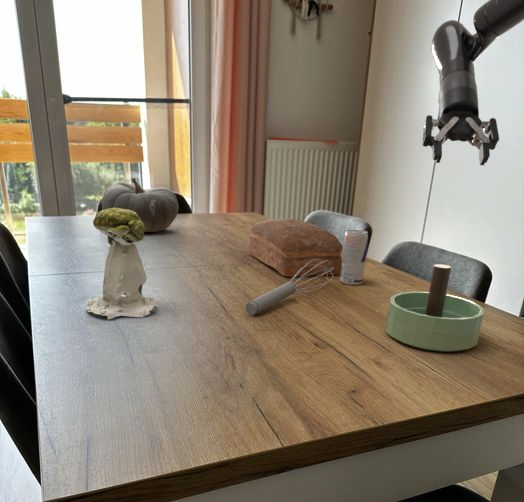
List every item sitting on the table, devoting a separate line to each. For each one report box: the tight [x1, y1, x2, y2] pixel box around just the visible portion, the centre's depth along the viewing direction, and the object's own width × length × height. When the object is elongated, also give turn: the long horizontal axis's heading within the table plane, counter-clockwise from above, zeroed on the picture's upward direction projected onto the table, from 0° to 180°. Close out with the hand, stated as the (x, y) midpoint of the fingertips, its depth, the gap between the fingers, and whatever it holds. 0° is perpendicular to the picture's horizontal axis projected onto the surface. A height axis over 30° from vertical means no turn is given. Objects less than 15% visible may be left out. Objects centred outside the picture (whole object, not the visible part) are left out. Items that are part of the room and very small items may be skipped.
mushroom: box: [85, 208, 158, 320], centre depth 93 cm, size 12×13×18 cm
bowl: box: [385, 291, 486, 353], centre depth 89 cm, size 15×15×6 cm
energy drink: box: [339, 229, 369, 286], centre depth 120 cm, size 5×5×12 cm
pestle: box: [424, 263, 452, 317], centre depth 88 cm, size 4×4×12 cm
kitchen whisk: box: [242, 259, 334, 318], centre depth 106 cm, size 6×34×6 cm, turn 147°
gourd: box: [101, 177, 180, 233], centre depth 172 cm, size 25×25×17 cm
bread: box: [246, 218, 343, 278], centre depth 136 cm, size 17×29×11 cm, turn 20°
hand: (461, 161), depth 100 cm, fingers open, 8 cm apart
